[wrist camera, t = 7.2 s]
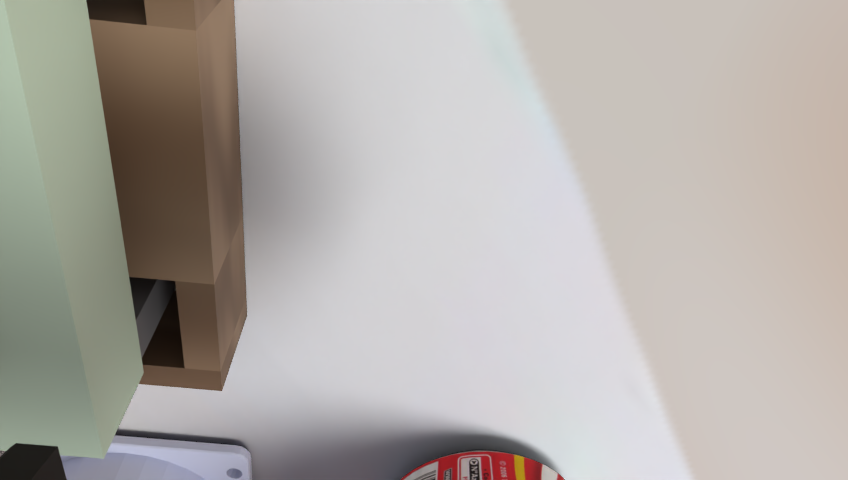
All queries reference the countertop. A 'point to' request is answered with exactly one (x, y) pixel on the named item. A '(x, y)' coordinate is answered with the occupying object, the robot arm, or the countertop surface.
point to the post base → (177, 173)
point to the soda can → (483, 468)
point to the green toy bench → (63, 243)
